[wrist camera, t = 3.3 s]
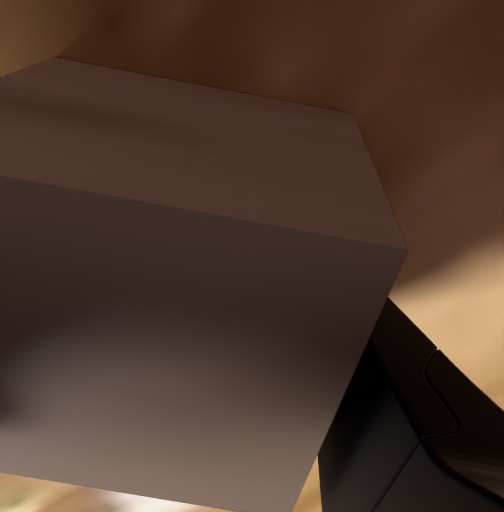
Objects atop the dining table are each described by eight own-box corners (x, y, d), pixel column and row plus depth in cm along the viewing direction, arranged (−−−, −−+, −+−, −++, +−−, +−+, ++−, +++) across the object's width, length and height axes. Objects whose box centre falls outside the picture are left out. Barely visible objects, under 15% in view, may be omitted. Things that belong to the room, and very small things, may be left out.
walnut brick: (289, 328, 12) (288, 520, 8) (76, 290, 12) (-41, 465, 8) (352, 113, 9) (408, 249, 4) (54, 58, 8) (-178, 142, 4)
